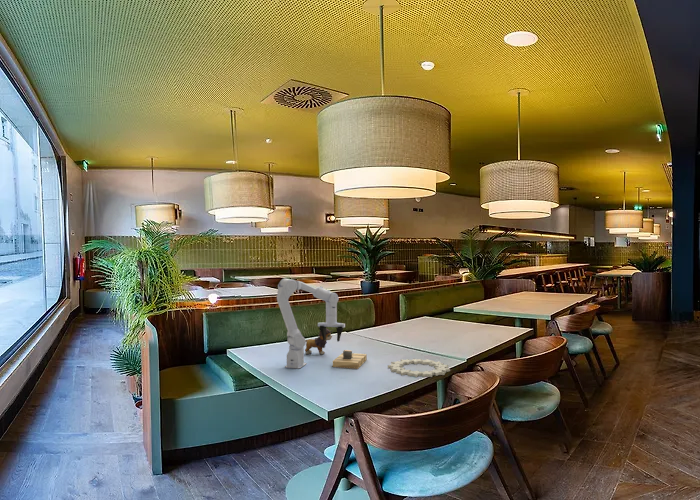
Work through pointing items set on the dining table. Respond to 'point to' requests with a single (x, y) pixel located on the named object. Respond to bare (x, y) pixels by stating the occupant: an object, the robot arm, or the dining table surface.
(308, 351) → the figurine
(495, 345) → the dining table surface
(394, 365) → the decorative wreath
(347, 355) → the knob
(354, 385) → the dining table surface
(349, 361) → the hub plate
